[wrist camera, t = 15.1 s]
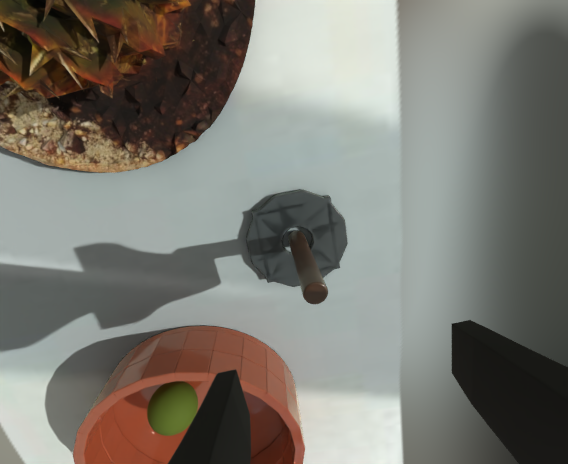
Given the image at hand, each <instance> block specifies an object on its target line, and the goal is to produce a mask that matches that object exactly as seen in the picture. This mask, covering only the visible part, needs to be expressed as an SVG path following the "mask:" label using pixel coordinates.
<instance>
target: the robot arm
mask: <svg viewBox="0 0 568 464" xmlns="http://www.w3.org/2000/svg"><path fill="white" fill-rule="evenodd" d="M452 374H453V375H454V377H455V378H456V380H457V382H458V383H459V385H460V386H461V388H462V390H463V391H464V393H465V394H466V396H467V397H468V399H469V401H470V402H471V404H472V405H473V406H474V408H475V409H476V410H477V412H478V413H479V414H480V415H481V417H482V418H483V419H484V420H485V422H486V423H487V424H488V425H489V427H490V428H491V429H492V431H493V432H494V433H495V434H496V436H497V437H498V438H499V439H500V440H501V442H502V443H503V444H504V446H505V447H506V448H507V449H508V451H509V452H510V453H511V454H512V456H513V457H514V458H515V459H516V461H517V462H518V463H519V464H568V367H566V366H563V365H561V364H559V363H557V362H555V361H553V360H551V359H549V358H547V357H545V356H542V355H541V354H538V353H536V352H534V351H532V350H530V349H528V348H526V347H524V346H522V345H520V344H518V343H516V342H514V341H512V340H510V339H508V338H506V337H504V336H502V335H500V334H498V333H496V332H494V331H492V330H490V329H488V328H486V327H484V326H482V325H479V324H477V323H475V322H473V321H471V320H468V321H463V322H459V323H454V324H452ZM250 461H251V425H250V413H249V410H248V407H247V403H246V400H245V397H244V393H243V390H242V387H241V384H240V380H239V377H238V374H237V370H236V369H235V370H230V371H225V372H220V373H217V375H216V376H215V378H214V380H213V382H212V384H211V386H210V388H209V390H208V392H207V394H206V396H205V398H204V400H203V402H202V404H201V406H200V408H199V410H198V412H197V413H196V415H195V417H194V419H193V421H192V423H191V424H190V426H189V428H188V430H187V432H186V433H185V435H184V437H183V439H182V441H181V442H180V444H179V446H178V447H177V449H176V451H175V452H174V454H173V456H172V457H171V459H170V461H169V462H168V464H250Z"/></svg>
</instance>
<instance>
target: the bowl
mask: <svg viewBox="0 0 568 464" xmlns="http://www.w3.org/2000/svg"><path fill="white" fill-rule="evenodd" d="M235 369H236V370H237V374H238V377H239V380H240V384H241V387H242V390H243V393H244V397H245V400H246V403H247V407H248V410H249V413H250V425H251V461H250V464H303V459H304V452H305V444H304V437H303V430H302V423H301V417H300V410H299V403H298V397H297V393H296V386H295V383H294V379H293V376H292V374H291V372H290V370H289V368H288V367H287V365H286V364H285V362H284V361H283V360H282V358H281V357H280V356H279V355H278V354H277V353H276V352H275V351H274V350H272V349H271V348H270V347H269V346H267V345H266V344H264V343H263V342H261V341H259V340H258V339H256V338H254V337H252V336H249V335H247V334H245V333H242V332H239V331H236V330H232V329H227V328H222V327H214V326H189V327H183V328H177V329H173V330H169V331H165V332H163V333H160V334H157V335H155V336H152V337H151V338H149V339H147V340H145V341H143V342H141V343H140V344H139V345H137V346H136V347H135V348H133V349H132V350H131V351H130V352H129V353H128V354H127V355H126V356H125V357H124V358H123V359H122V360H121V362H120V363H119V364H118V365H117V367H116V369H115V370H114V372H113V373H112V375H111V377H110V378H109V380H108V381H107V383H106V385H105V386H104V388H103V390H102V391H101V393H100V394H99V396H98V398H97V399H96V401H95V403H94V404H93V406H92V408H91V409H90V411H89V412H88V414H87V416H86V417H85V419H84V421H83V422H82V424H81V426H80V427H79V429H78V431H77V435H76V440H75V445H74V450H73V458H74V462H75V464H168V462H169V461H170V459H171V457H172V456H173V454H174V452H175V451H176V449H177V447H178V446H179V444H180V442H181V441H182V439H183V437H184V435H185V433H186V432H187V430H188V428H189V426H190V425H189V426H188V427H187V428H186V429H185V430H184V431H182V432H181V433H178V434H176V435H172V436H164V435H160V434H158V433H157V432H155V431H154V430H153V429H152V428H151V426H150V424H149V422H148V418H147V408H148V404H149V401H150V399H151V397H152V395H153V394H154V392H155V391H156V390H157V389H158V388H159V387H160V386H162V385H163V384H165V383H170V382H175V381H185V382H187V383H189V384H190V385H191V386H192V387H193V388H194V390H195V391H196V394H197V397H198V409H197V412H198V410H199V408H200V406H201V404H202V402H203V400H204V398H205V396H206V394H207V392H208V390H209V388H210V386H211V384H212V382H213V380H214V378H215V376H216V375H217V373H220V372H225V371H230V370H235Z"/></svg>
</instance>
